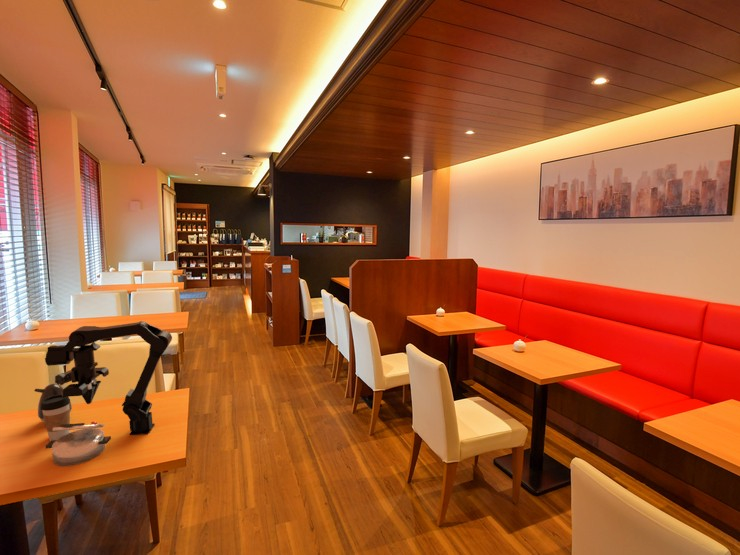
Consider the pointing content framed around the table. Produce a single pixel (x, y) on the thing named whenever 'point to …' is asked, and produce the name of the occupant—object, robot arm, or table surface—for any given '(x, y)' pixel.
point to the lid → (77, 426)
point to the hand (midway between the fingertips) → (89, 403)
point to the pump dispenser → (47, 392)
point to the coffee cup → (56, 415)
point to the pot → (78, 446)
